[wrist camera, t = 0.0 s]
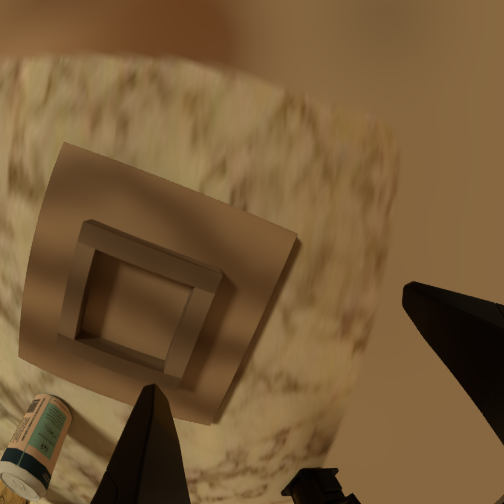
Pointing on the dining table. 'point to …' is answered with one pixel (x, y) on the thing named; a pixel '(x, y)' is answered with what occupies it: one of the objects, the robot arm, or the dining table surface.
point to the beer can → (35, 447)
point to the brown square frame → (144, 284)
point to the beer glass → (10, 496)
